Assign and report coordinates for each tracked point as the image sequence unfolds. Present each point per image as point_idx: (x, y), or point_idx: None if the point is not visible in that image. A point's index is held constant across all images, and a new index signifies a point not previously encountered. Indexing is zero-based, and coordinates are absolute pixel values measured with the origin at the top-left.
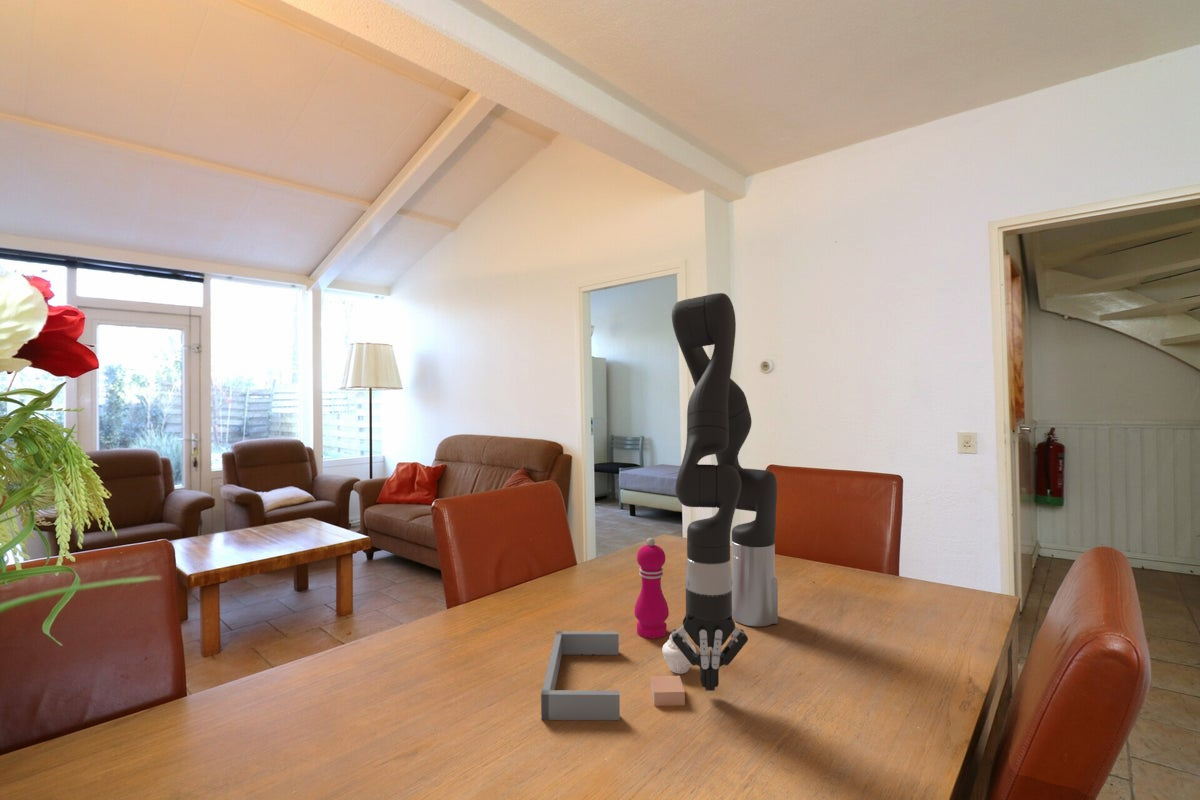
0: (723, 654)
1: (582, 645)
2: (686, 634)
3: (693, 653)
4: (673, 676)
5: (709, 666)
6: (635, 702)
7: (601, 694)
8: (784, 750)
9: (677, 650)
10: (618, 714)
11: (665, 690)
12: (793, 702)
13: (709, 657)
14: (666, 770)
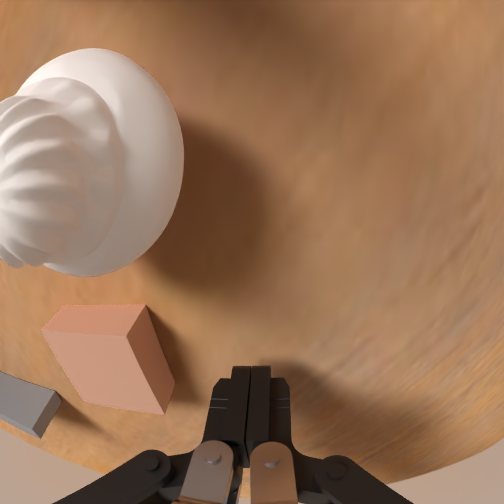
0: (326, 499)
1: None
2: (34, 159)
3: (159, 492)
4: (105, 339)
5: (249, 457)
6: None
7: (17, 427)
8: (371, 461)
9: (53, 264)
10: (55, 408)
11: (108, 401)
12: (488, 342)
13: (250, 468)
14: None
